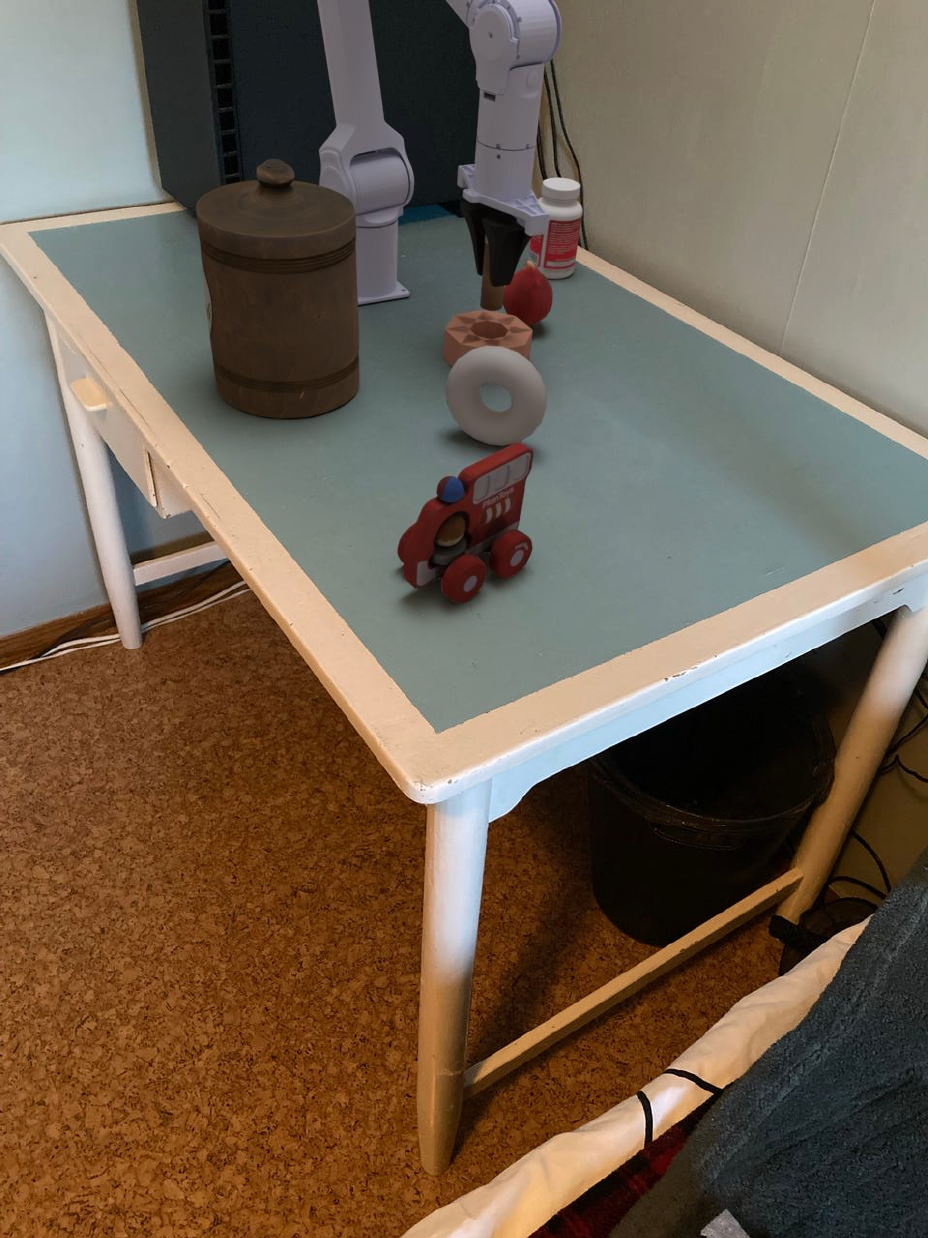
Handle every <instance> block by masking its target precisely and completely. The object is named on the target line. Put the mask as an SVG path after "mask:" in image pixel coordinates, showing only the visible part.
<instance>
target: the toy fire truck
mask: <svg viewBox="0 0 928 1238" xmlns="http://www.w3.org/2000/svg"><path fill="white" fill-rule="evenodd" d="M533 460H534V450H533V449H532V448H530V447H528V446H527V445H525V444H523V443H521V442H517V443H514V444H510V445H507V446H506V447H505V448H502V449H500V450H499V451H496V452H495V453H492V454H490V455H489V456H487V457H485V458H483V459H481V460H478V461H477V462H474V463H472V464H470V465H469V466H467V467H465V468H463V469H462V470H461V471H460V472H459V473H458V476H457V477H456V476H454V475H447V476H444V477H443V478H441V479H440V480H439V481H438V483H437V486H436V496H435V497H433V498H431V499H429V500H428V501H426V502H425V503H424V505H423V506H422V508H421V509H420V512H419V514H418V517H417V519H416V522H414V523H413V524H412V525H410V526H409V527H408V528H407V529H406V530H405V532H404V533H402V535H401V536H400V539H399V541H398V544H397V545H398V546H397V550H396V551H397V556H398V559H399V560H400V561H401V563H403V572H402V576H403V578H404V580H405V581H406V582H407V583H408V584H409V585H410V587H411V586H412V588H414V589H416V590H417V589H422V588H424V587H426V586H428V585H430V584H431V583H433V582H435V581H436V580H438V579H441V580H440V590H441V592H442V594H443V595H444V596H445V597H447V598H448V599H449V600H451V601H452V602H453V603H456V604H461V603H465V602H468V601H469V600H471V599H472V598H473V597H475V596H476V594H477V593H479V591H480V590H481V589H482V587H483V585H484V583H485V581H486V578H487V574H488V573H487V572H488V568H489V570H490V571H491V572H492V573H494V574H495V575H496V576H498V577H499V578H502V579H510V578H511V577H513V576H515V575H517V574H518V573H520V571H521V570H522V569H524V567H525V566H526V565H527V563H528V561H529V560H530V557H531V555H532V551H533V542H532V539H531V538H530V536H529V535H527V534H525V532H523V531H521V530H519V526H520V521H521V515H522V508H523V502H524V498H525V497H524V496H525V490H526V489H525V487H526V481H527V479H528V476H529V475H530V473H531V471H532V467H533ZM481 554H489V555H488V558H487V565H488V568H487V565H486V563H485V562H484V561H483V559H481V558H479V557H478V556H480V555H481Z"/></svg>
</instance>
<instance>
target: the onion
mask: <svg viewBox="0 0 928 1238" xmlns="http://www.w3.org/2000/svg"><path fill="white" fill-rule="evenodd" d="M524 263H525V265H524V268H521V269H520V270H518V271H515V273H514V276H513V279H512V281H511V284H510V285H506V286H504V295H503V305H502V308H503V309H504V311H505V314H508V315H513V316H516V317H517V318H519V319H520V320H521V321H522V322H523V323H525V324H526V325H527V326H528V327H529V328H531V327H533V326H535V325H537V324H539V323H540V322H541V321H543V320H544V319H545V318H547V317H548V314H550V312H551V309H552V306H553V298H554V296H553V293H554V292H553V287H552V285H551V283H550V281H549V280H548V279H549V278H546V277H545V276H544V275H543V274H542V273H541V272H540V271H539V270H538V269H537V268H536V267H535V266H534V264H533V262H531V261H528V260H527V261H525V262H524Z"/></svg>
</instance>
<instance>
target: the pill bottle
mask: <svg viewBox="0 0 928 1238" xmlns="http://www.w3.org/2000/svg"><path fill="white" fill-rule="evenodd" d="M541 186H542V187H541V195H542V197H540V198H537V200H538V201H539V203H540V205H541V207H542V208H543V209H544V210H545V211H546V212H547V213H549V219H548V227H547V233H546V234H541V235H534V236H532V238H531V239H530V241H529V249H528V257H527V258H528V259H527V261H531V262H533V264H534V266H535V267H536V268H537V269H538V270H539V271H540V272H541V273H542V274H543V275H544V276H545V277H546V278H547V279H549V280H560V279H564V278H568V277H570V276H571V275H572V274H573V273H574V271H575V268H576V260H577V254H578V246H579V239H580V232H581V225H582V218H583V206H582V205H581V204H580V202H579V201H578V200H577V199H579V198H580V195H581V194H580V193H581V192H580V191H581V184H580V182H579V181H576V180H574V179H571V178H566V177H565V178H564V177H550V178H547V179H544V180H543V181H542V185H541Z"/></svg>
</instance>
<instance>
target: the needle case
mask: <svg viewBox="0 0 928 1238" xmlns="http://www.w3.org/2000/svg"><path fill="white" fill-rule="evenodd" d="M481 277H482V279H481V289H480V303H479V306H480V308H481V309H482V310H487V311H493V312H498V311H501V310H502V308H503V295H504V287H505V286H500V287H493V286H492V285H491V282H490V255H489V245H488V239H487V235H486V234H485V251H484V263H483V275H482V276H481Z"/></svg>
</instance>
